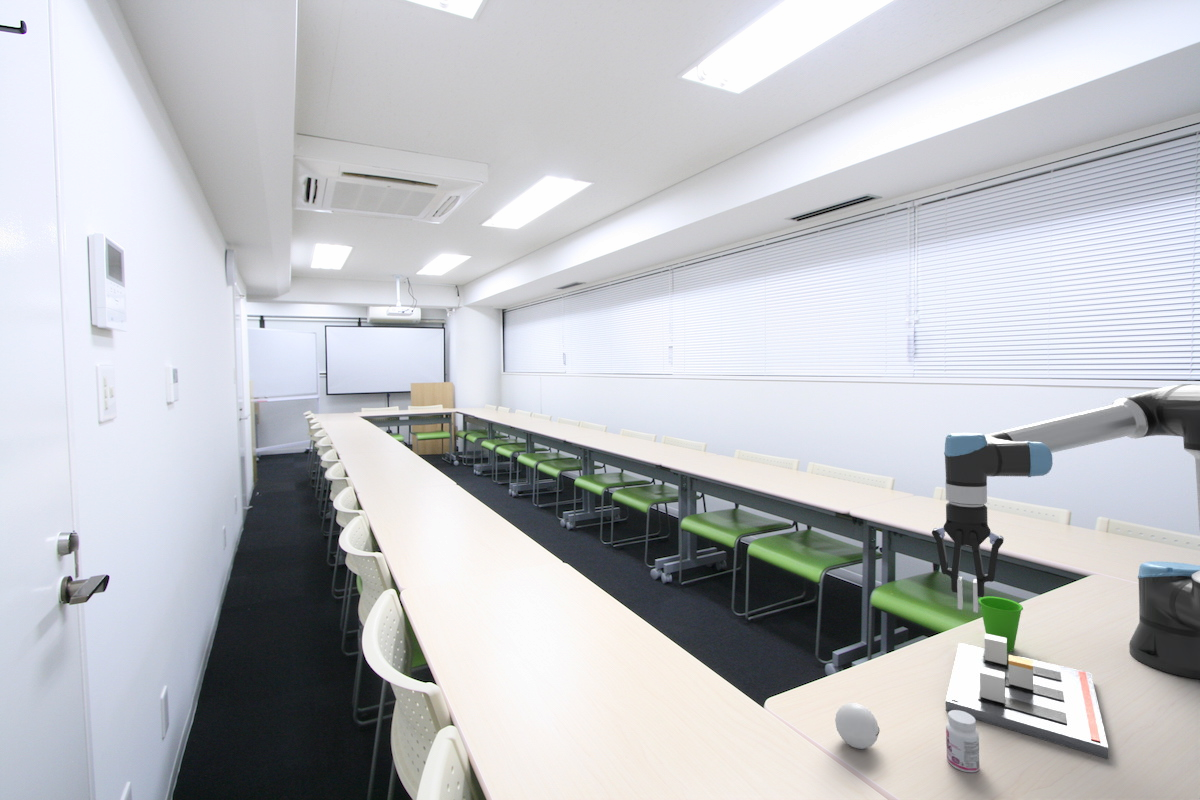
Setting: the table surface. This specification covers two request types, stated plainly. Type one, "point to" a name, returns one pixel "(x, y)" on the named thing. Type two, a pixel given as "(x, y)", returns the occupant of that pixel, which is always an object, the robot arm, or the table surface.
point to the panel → (1032, 702)
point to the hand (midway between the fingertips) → (968, 608)
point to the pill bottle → (962, 741)
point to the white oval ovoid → (857, 725)
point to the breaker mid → (1021, 672)
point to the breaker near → (992, 684)
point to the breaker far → (996, 649)
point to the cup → (1001, 618)
